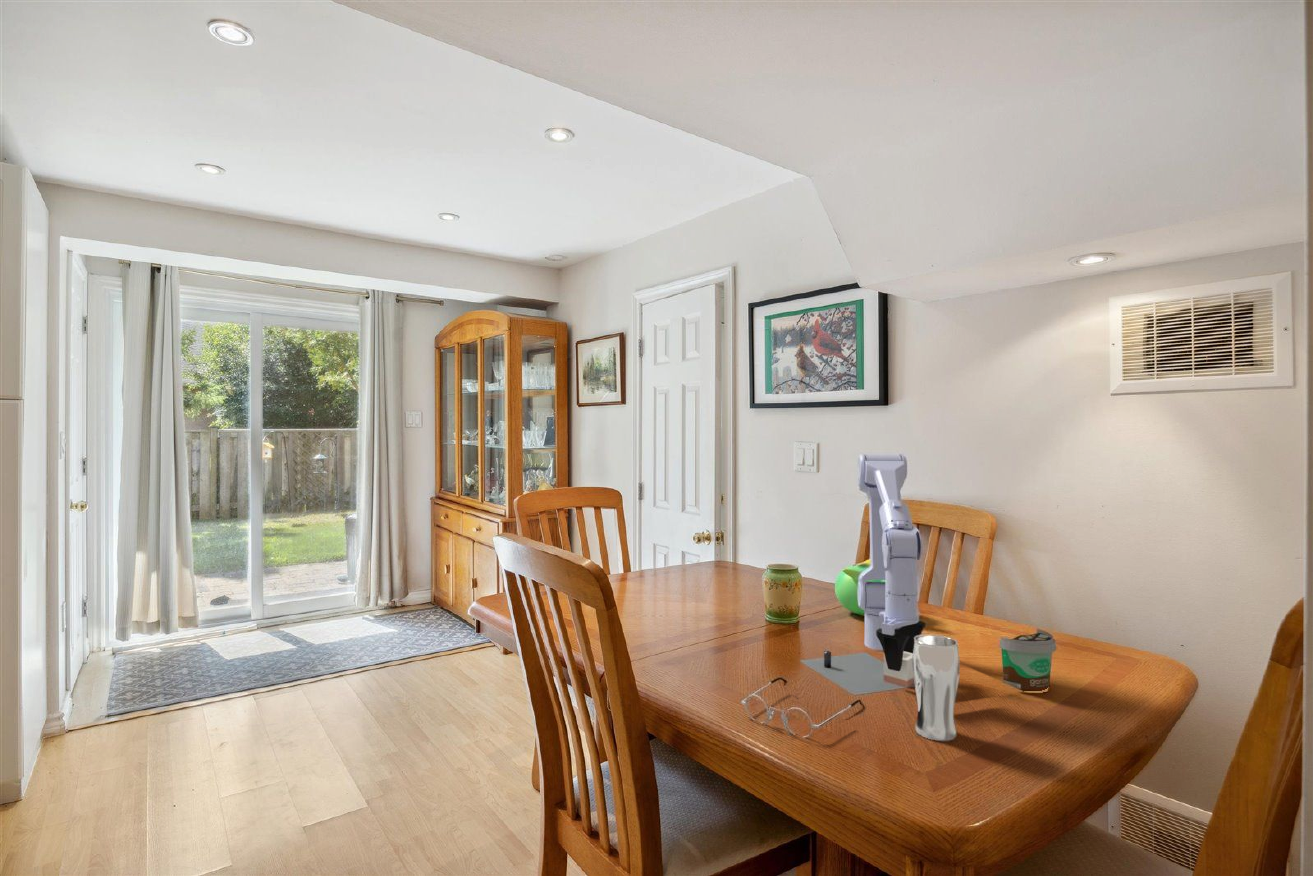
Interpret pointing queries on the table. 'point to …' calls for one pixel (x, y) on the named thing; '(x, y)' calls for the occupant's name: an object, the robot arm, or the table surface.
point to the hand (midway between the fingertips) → (901, 664)
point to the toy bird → (851, 586)
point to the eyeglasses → (788, 710)
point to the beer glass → (935, 685)
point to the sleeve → (901, 672)
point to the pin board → (855, 673)
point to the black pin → (827, 659)
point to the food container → (1028, 660)
